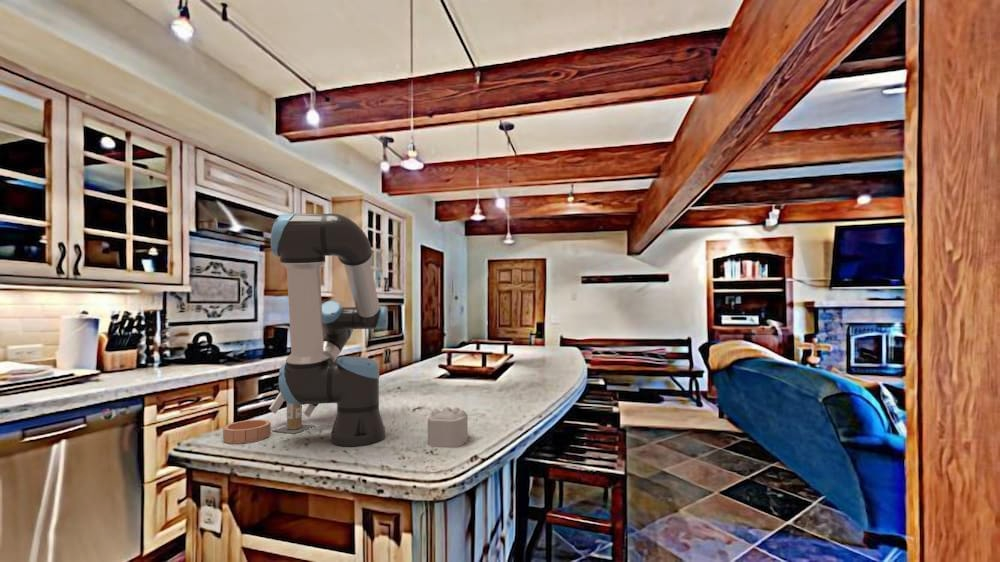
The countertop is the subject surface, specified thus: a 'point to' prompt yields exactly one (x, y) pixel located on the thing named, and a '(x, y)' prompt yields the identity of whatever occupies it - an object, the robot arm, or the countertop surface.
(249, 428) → the terracotta bowl
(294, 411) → the sprinkles bottle
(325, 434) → the countertop surface
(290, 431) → the rubber mat
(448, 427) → the lumpy-topped squat cylinder
